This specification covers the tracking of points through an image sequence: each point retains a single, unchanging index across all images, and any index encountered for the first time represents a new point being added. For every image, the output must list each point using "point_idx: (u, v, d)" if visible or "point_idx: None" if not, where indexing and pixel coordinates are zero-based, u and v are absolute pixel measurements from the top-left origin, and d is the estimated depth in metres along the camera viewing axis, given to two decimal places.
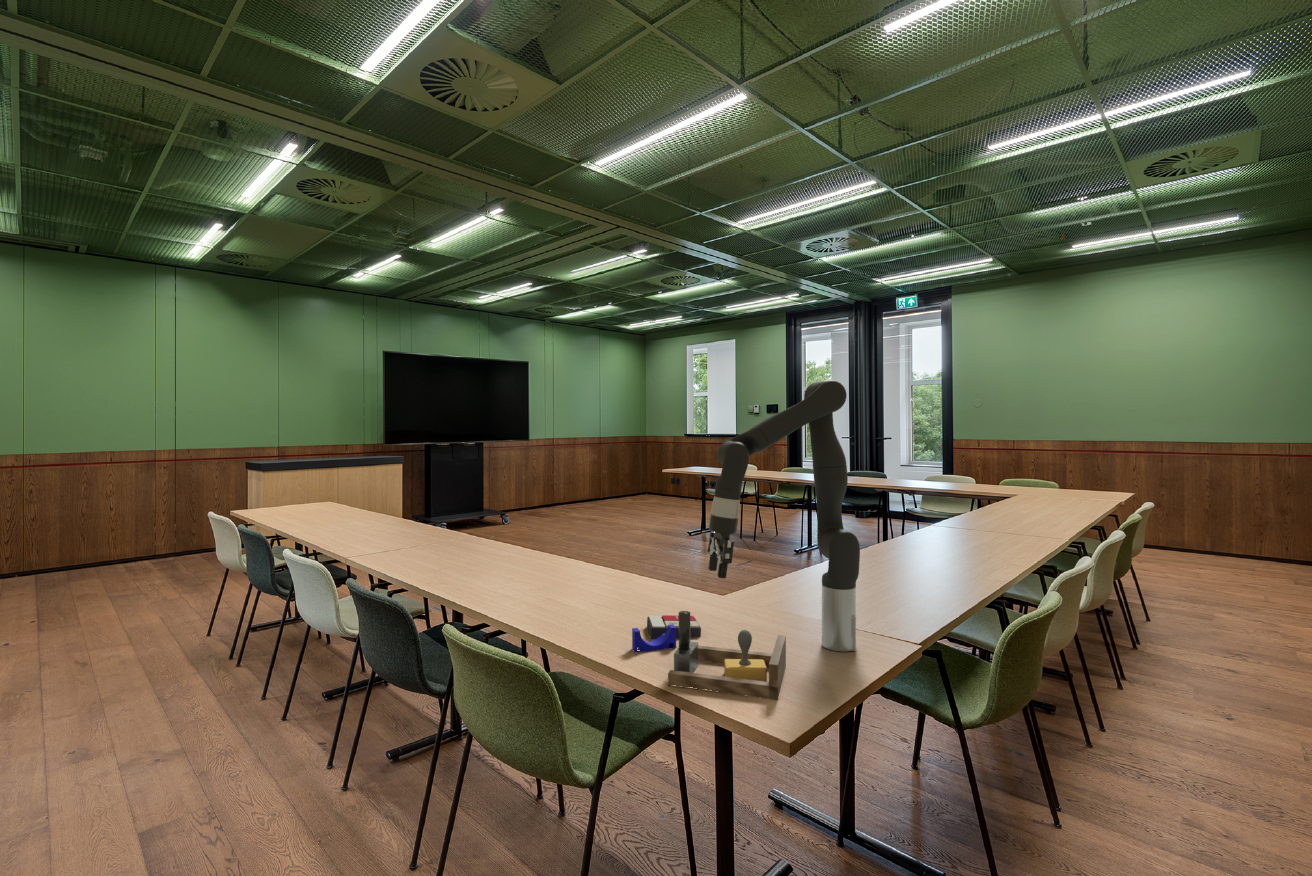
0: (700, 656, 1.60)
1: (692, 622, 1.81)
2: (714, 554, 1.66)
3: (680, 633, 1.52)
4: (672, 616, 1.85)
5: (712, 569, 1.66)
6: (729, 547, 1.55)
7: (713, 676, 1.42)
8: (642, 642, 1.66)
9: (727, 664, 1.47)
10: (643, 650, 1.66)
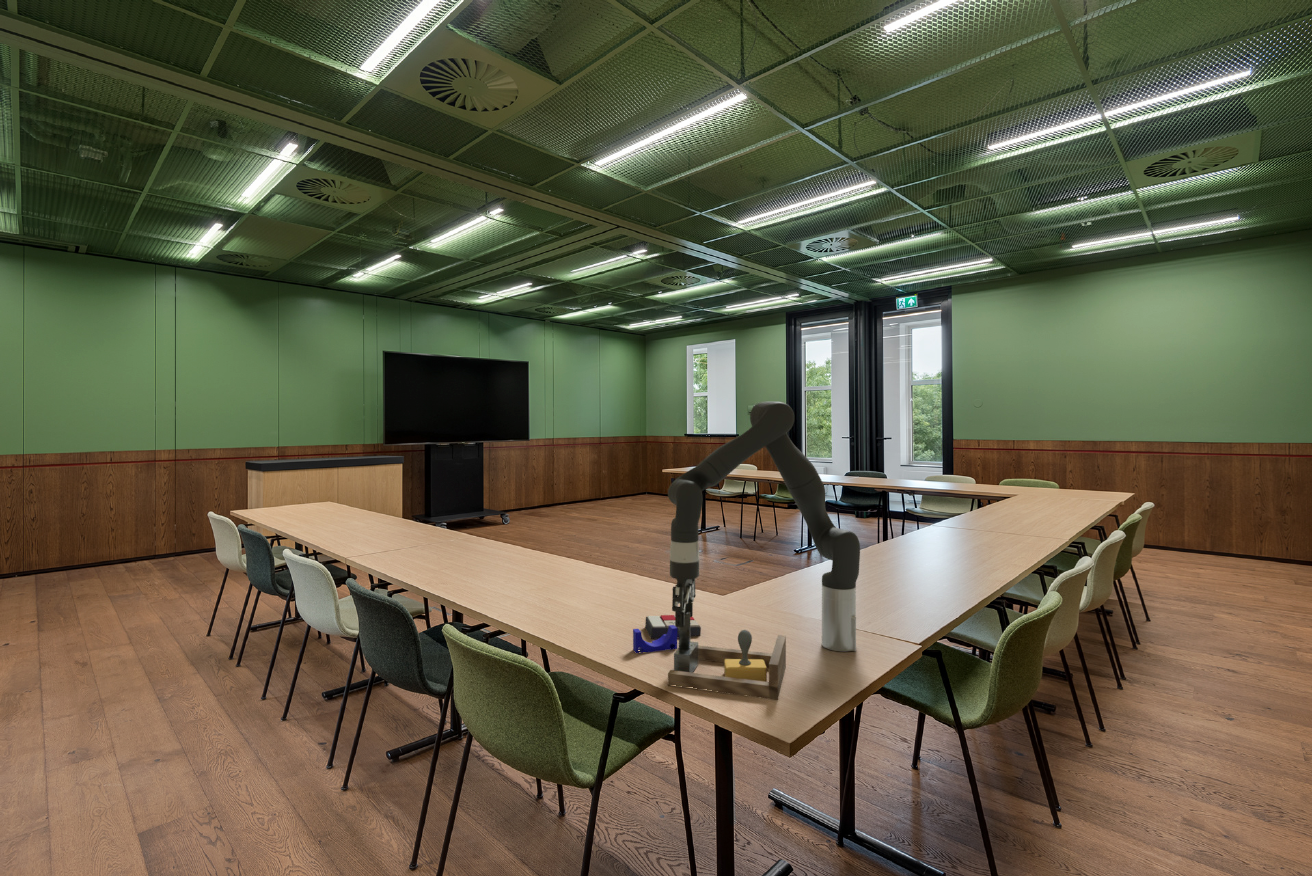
0: (700, 656, 1.60)
1: (691, 621, 1.81)
2: (688, 599, 1.56)
3: (680, 633, 1.52)
4: (670, 616, 1.86)
5: None
6: (678, 594, 1.46)
7: (713, 676, 1.42)
8: (643, 643, 1.65)
9: (727, 664, 1.47)
10: (644, 651, 1.65)
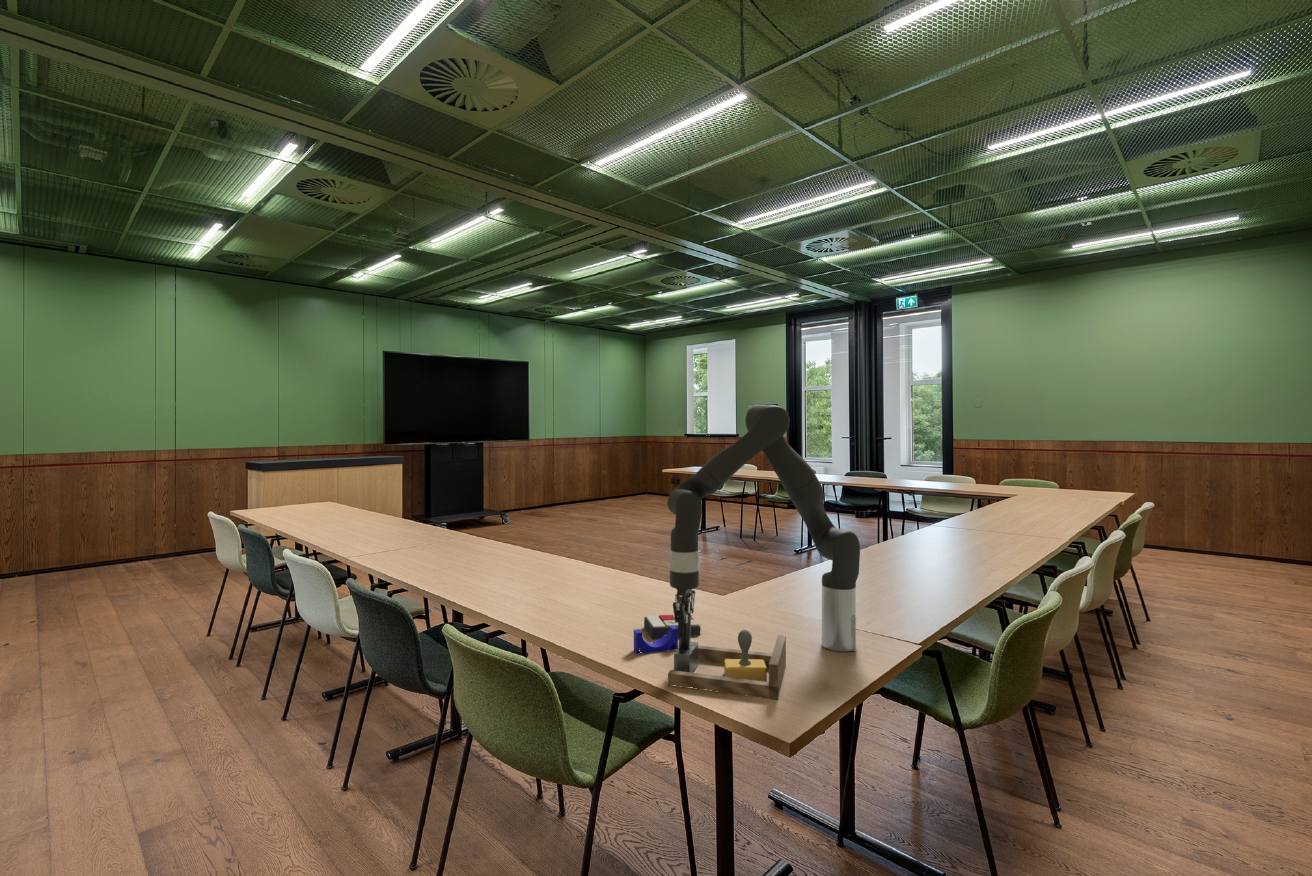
0: (700, 656, 1.60)
1: None
2: None
3: None
4: (669, 615, 1.86)
5: None
6: (679, 610, 1.47)
7: (713, 676, 1.42)
8: (644, 643, 1.64)
9: (727, 664, 1.47)
10: (645, 652, 1.64)
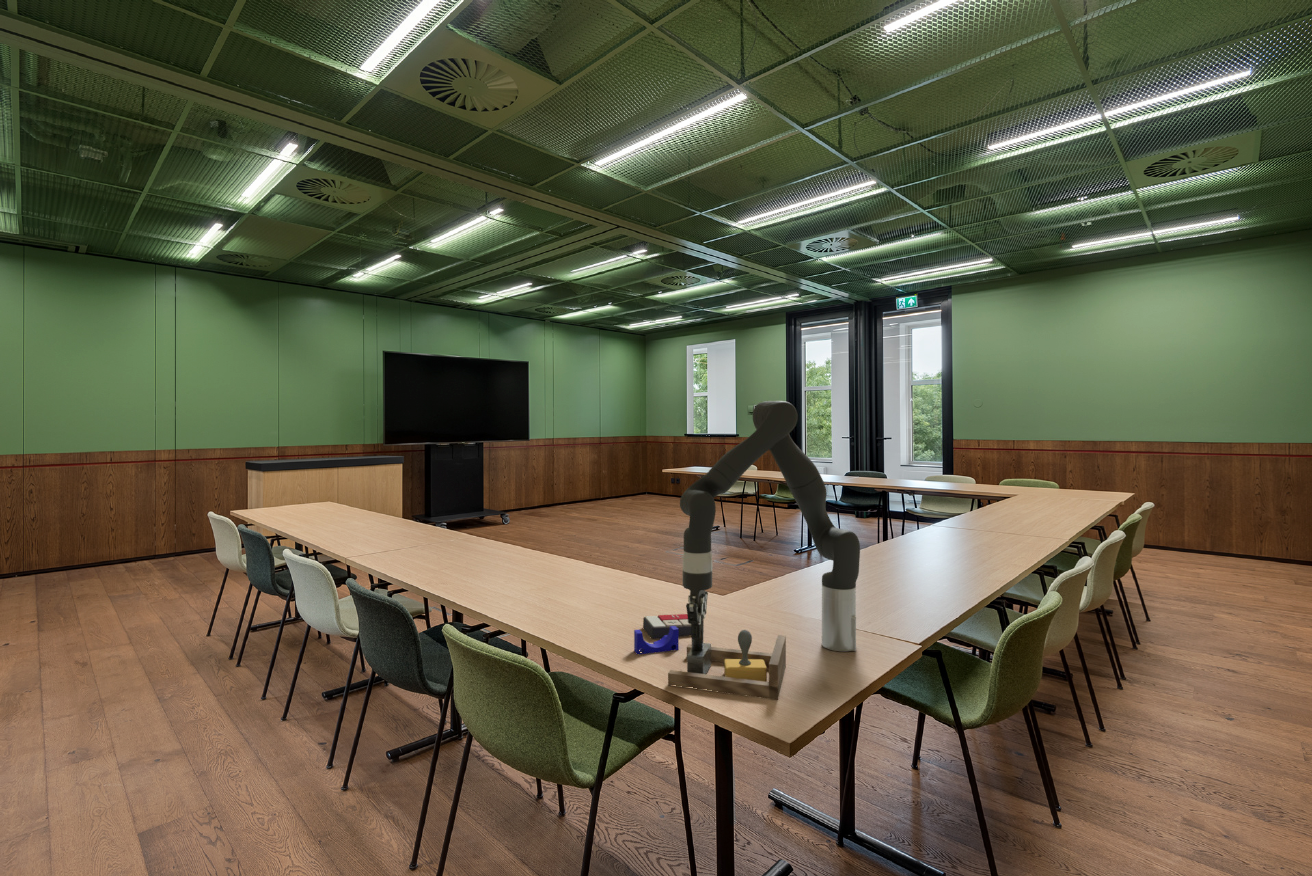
0: None
1: None
2: None
3: None
4: (668, 615, 1.86)
5: None
6: (692, 611, 1.46)
7: (713, 676, 1.42)
8: (644, 644, 1.64)
9: (727, 664, 1.47)
10: (645, 652, 1.64)
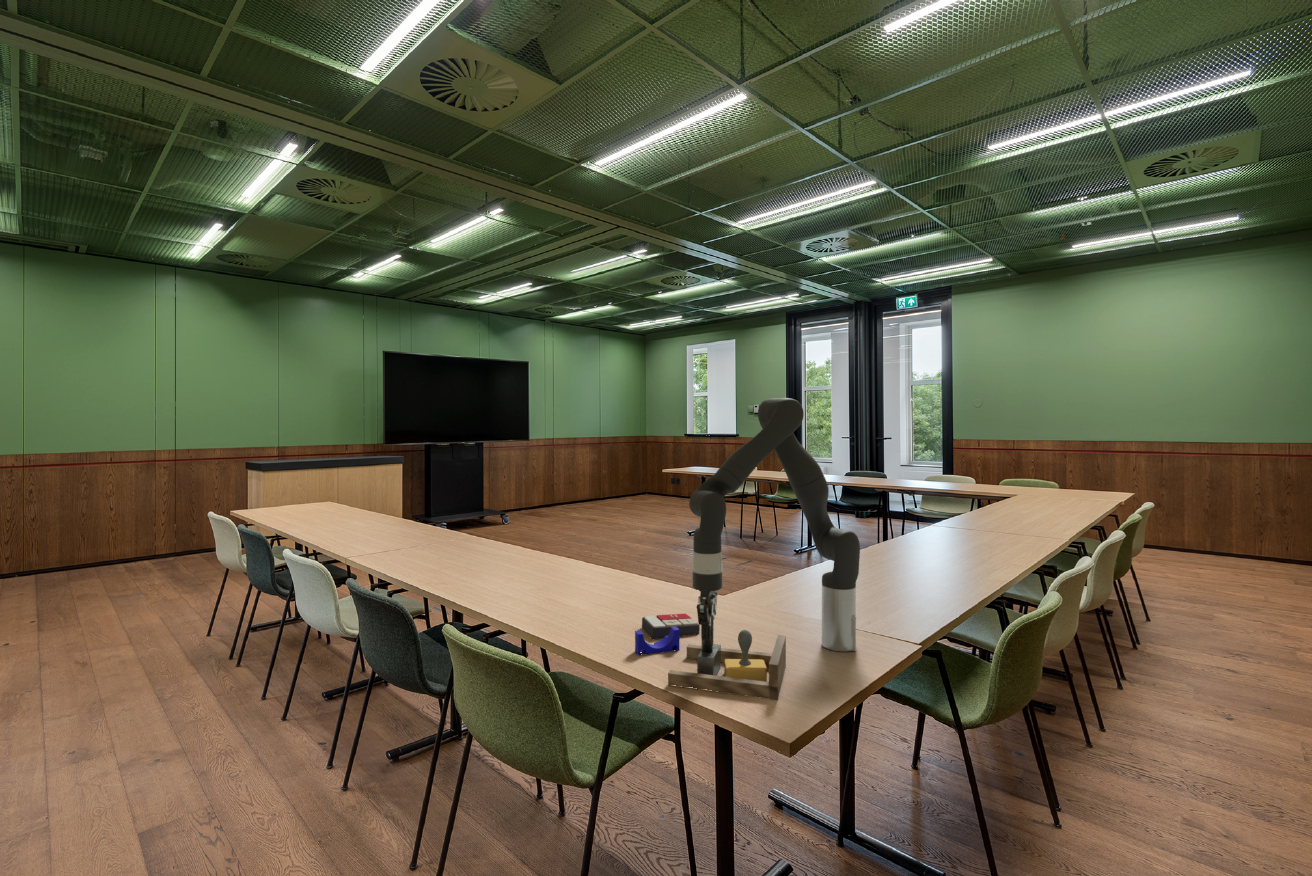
0: None
1: (689, 620, 1.83)
2: None
3: None
4: (667, 615, 1.86)
5: None
6: (702, 612, 1.45)
7: (713, 676, 1.42)
8: (645, 645, 1.63)
9: (727, 664, 1.47)
10: (646, 653, 1.64)
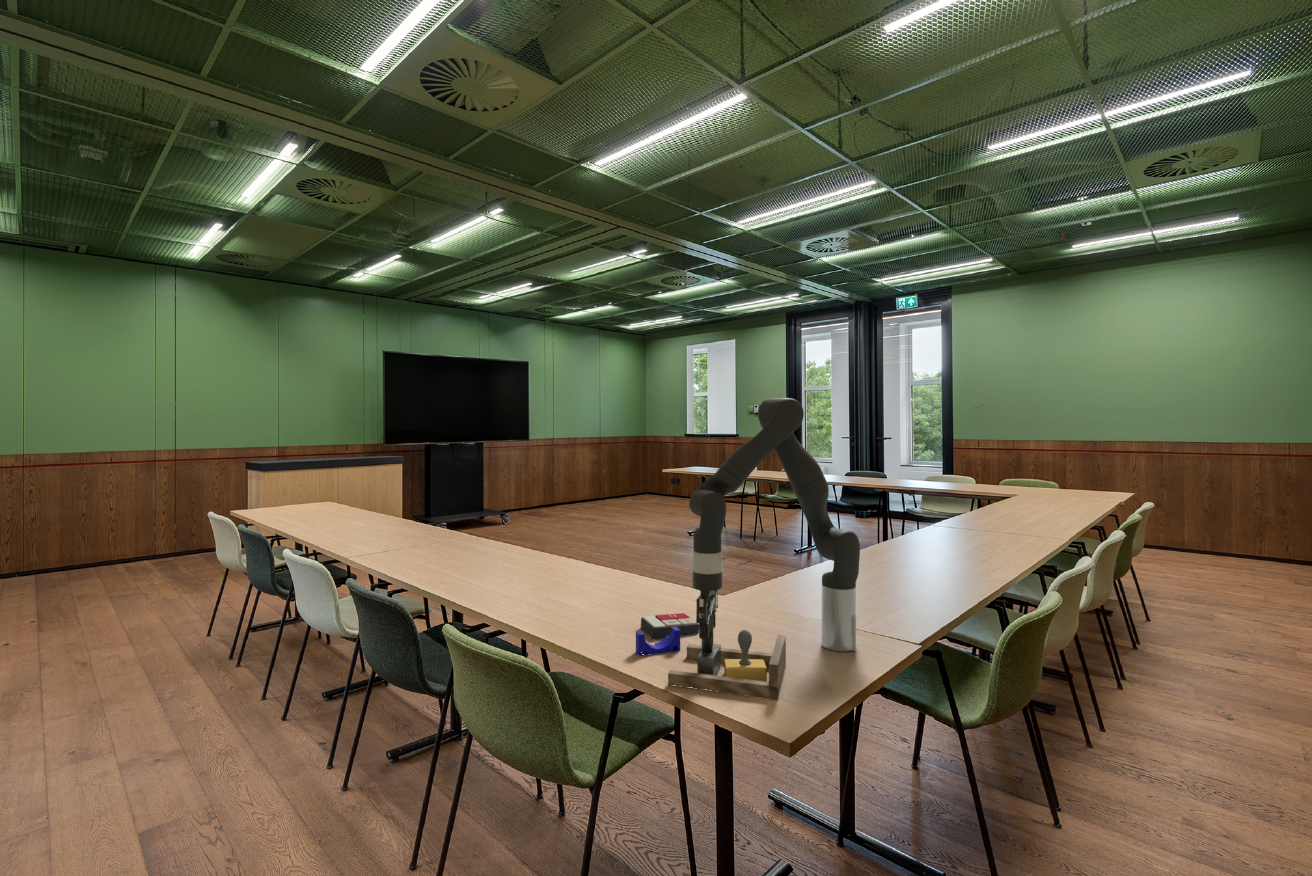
0: None
1: (688, 619, 1.83)
2: None
3: None
4: (665, 615, 1.86)
5: None
6: (702, 606, 1.44)
7: (713, 676, 1.42)
8: (646, 645, 1.63)
9: (727, 664, 1.47)
10: (647, 653, 1.63)
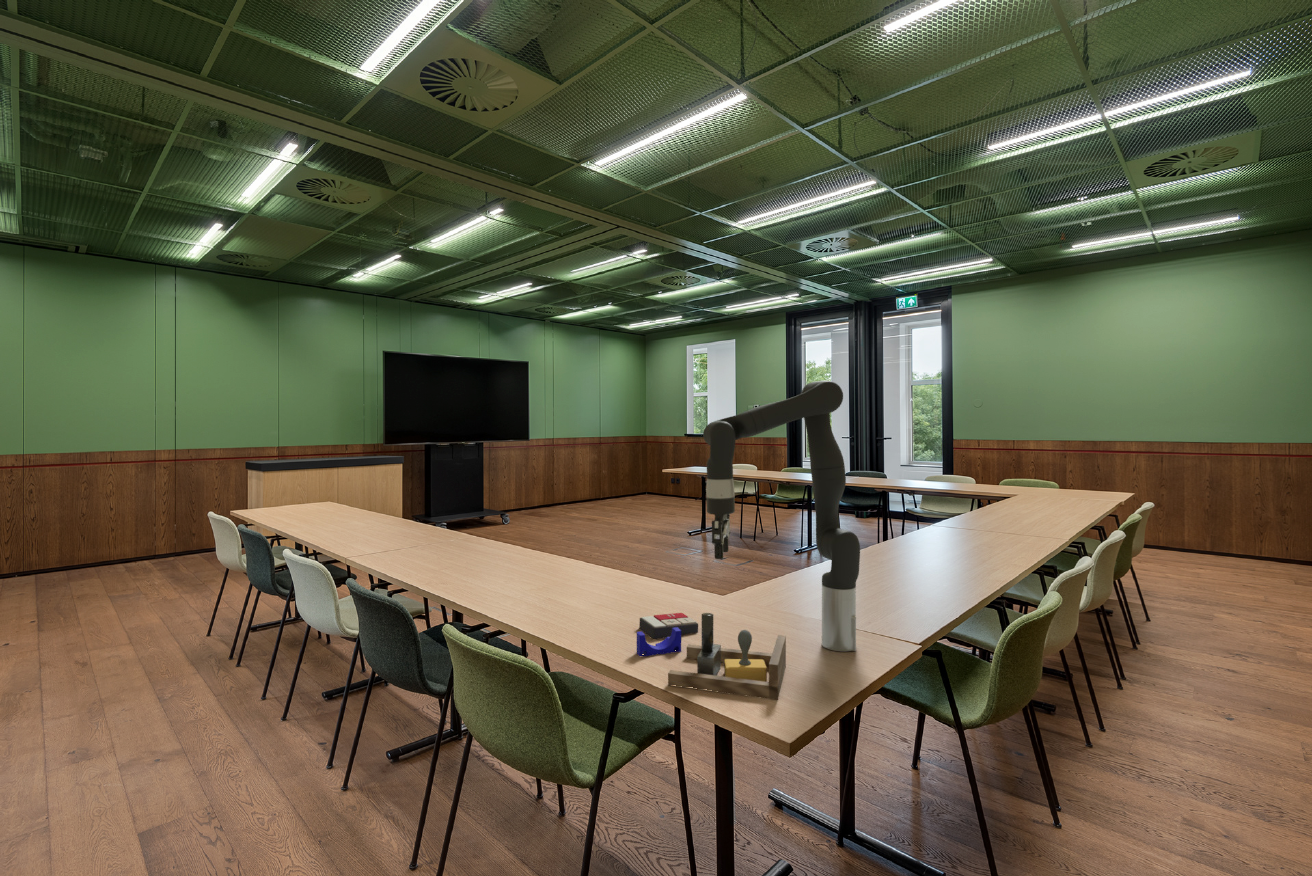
0: None
1: (687, 619, 1.84)
2: None
3: (703, 635, 1.50)
4: (664, 615, 1.87)
5: (723, 550, 1.65)
6: (717, 528, 1.54)
7: (713, 676, 1.42)
8: (647, 646, 1.62)
9: (727, 664, 1.47)
10: (648, 654, 1.63)
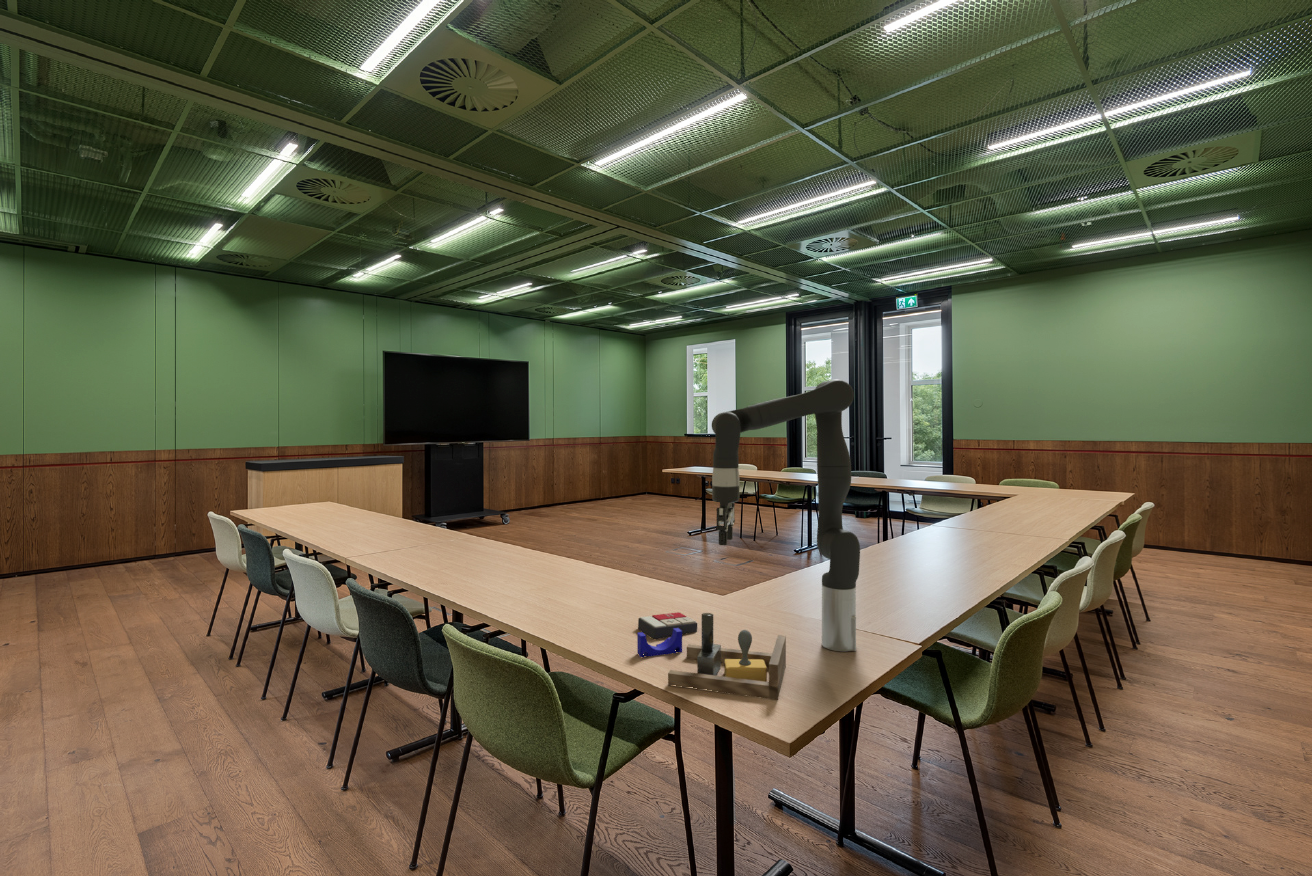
0: None
1: (686, 618, 1.84)
2: (728, 523, 1.70)
3: (703, 635, 1.50)
4: (662, 615, 1.87)
5: (728, 538, 1.70)
6: (721, 514, 1.60)
7: (713, 676, 1.42)
8: (648, 647, 1.62)
9: (727, 664, 1.47)
10: (649, 655, 1.62)
